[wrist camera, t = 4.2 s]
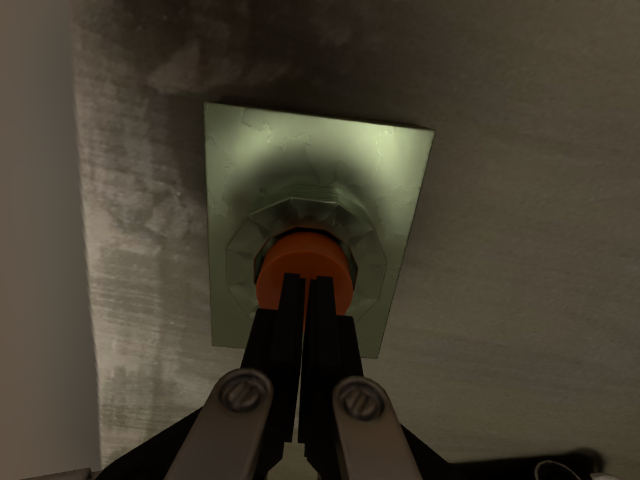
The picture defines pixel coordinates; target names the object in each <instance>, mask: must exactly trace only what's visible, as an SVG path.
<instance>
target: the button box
mask: <svg viewBox="0 0 640 480" xmlns="http://www.w3.org/2000/svg"><path fill="white" fill-rule="evenodd" d="M203 120H204V147H205V174H206V200H207V227H208V254H209V280H210V307H211V334H212V346H218V347H231V348H244V349H246V346H247V342H248V339H249V335H250V332H251V328H252V324H253V321H254V317H255V314H256V311H257V309H258V308H260V306H259V303H258V300H257V296H256V283H257V280H258V276H259V273H260V270H261V267H262V264H263V261H264V258H265V255H266V253H267V251H268V250H269V248H270V247H271V246H272V245H273V244H274V243H275V242H276V241H277V240H279V239H280V238H282V237H284V236H286V235H289V234H292V233H296V232H315V233H319V234H322V235H324V236H327V237H329V238H330V239H332V240H333V241H335V242H336V243H337V244H338V245H339V246H340V247H341V248H342V250H343V251H344V253H345V255H346V257H347V260H348V264H349V269H350V274H351V280H352V285H353V298H352V301H351V304H350V306H349V308H348V310H347V312H346V313H345V314H344V316H352V317H353V319H354V323H355V329H356V335H357V341H358V347H359V352H360V358H373V359H377V358H378V355H379V351H380V347H381V343H382V339H383V335H384V331H385V327H386V323H387V320H388V316H389V312H390V308H391V304H392V300H393V296H394V292H395V288H396V284H397V280H398V277H399V273H400V269H401V265H402V261H403V257H404V253H405V249H406V245H407V241H408V237H409V234H410V230H411V226H412V222H413V218H414V214H415V210H416V206H417V202H418V198H419V195H420V191H421V187H422V183H423V179H424V175H425V171H426V167H427V163H428V159H429V155H430V152H431V148H432V144H433V140H434V136H435V130H434V129H430V128H427V127H423V126H419V125H412V124H404V123H396V122H388V121H380V120H372V119H364V118H356V117H348V116H340V115H331V114H323V113H315V112H307V111H299V110H291V109H283V108H275V107H267V106H259V105H251V104H243V103H235V102H227V101H204V102H203ZM303 339H304V332H303ZM302 350H303V340H302Z"/></svg>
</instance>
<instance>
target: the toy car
mask: <svg viewBox="0 0 640 480" xmlns="http://www.w3.org/2000/svg"><path fill="white" fill-rule="evenodd" d="M590 476H591V478H592V479H588V480H622V479H620V478H617V477H615V476H613V475H610V474H606V473H602V472H601V473H591V474H590ZM548 477H552V478H553V479H552V480H581V479H580V478H579V477H578V476H577V475H576V474H575V473H574V472H573V471H572V470H571V469H569V468H568V467H567V466H565V465H563V464H560V463H558V462H555V461H552V460H541V461H540V462H538V463H536V464H535V465H534V466H533V468H532V470H531V480H550V479H548Z"/></svg>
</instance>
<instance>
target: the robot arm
mask: <svg viewBox="0 0 640 480" xmlns="http://www.w3.org/2000/svg"><path fill="white" fill-rule="evenodd" d="M305 286H306V279H305V278H300V274H296V273H284V279H283V284H282V290H281V295H280V301H279V306H278V310H274V309H263V308H258V309H257V311H256V314H255V317H254V321H253V324H252V328H251V332H250V335H249V339H248V342H247V346H246V349H245V353H244V356H243V360H242V363H241V367H240V368H239V369H235V370H232V371H230V372H228V373H226V374H225V375H224V376H222V377H221V378H220V379H219V380H218V382H217V383H216V384H215V386H214V388H213V389H212V391H211V393H210V395H209V397H208V399H207V400H206V402H205V404H204V406H203V407H201V408H200V409H198V410H196V411H195V412H193V413H191V414H190V415H188V416H187V417H185V418H183V419H182V420H180V421H178V422H177V423H175V424H174V425H172V426H170V427H169V428H167V429H165V430H164V431H162V432H161V433H159V434H157V435H156V436H154V437H152V438H151V439H149V440H148V441H146V442H144V443H143V444H141V445H139V446H138V447H136V448H135V449H133V450H131V451H130V452H128V453H126V454H125V455H123V456H122V457H120V458H118V459H117V460H115V461H114V462H113V463H111V464H110V465H109V466H107V467H106V468H105V469H104V470H102V471H96V472H91V469H90V468H84V469H78V470H73V471H67V472H62V473H56V474H50V475H44V476H39V477H33V478H27V479H21V480H267V475H268V471H269V470H270V469H271V468H272V467H274V466H275V465H276V464H277V463H278V462H279V461H280V460H281V459H282V457H283V448H284V442H290V443H292V435H293V427H294V419H295V410H296V402H297V394H298V385H299V377H300V369H301V357H302V369H301V388H300V407H299V426H298V443H305V453H304V457H307V461H308V462H309V463H310V464H311V465H312V466H313V468H314V469H315V470H316V471H317V472H318V478H317V480H468V479H467V478H466V477H465V476H463V475H462V474H461V473H460V472H458V471H457V470H456V469H455V468H454V467H452V466H451V465H450V464H449V463H448V462H446V461H445V460H444V459H443V458H442V457H440V456H439V455H438V454H437V453H435V452H434V451H433V450H432V449H431V448H429V447H428V446H427V445H426V444H425V443H423V442H422V441H421V440H420V439H418V438H417V437H416V436H415V435H414V434H412V433H411V432H410V431H409V430H408V429H406V428H405V427H404V426H403V425H402V424H400V423H399V420H398V418H397V415H396V413H395V411H394V408H393V406H392V403H391V401H390V398H389V396H388V395H387V393H386V391H385V390H384V389H383V388H382V387H381V386H380V385H379V384H378V383H376V382H375V381H373V380H371V379H369V378H366V377H364V375H363V370H362V364H361V358H360V352H359V347H358V341H357V335H356V329H355V323H354V319H353V317H352V316H344V315H336V305H335V295H334V284H333V277H328V276H317V279H311V280H310V288H309V297H308V305H307V313H306V322H305V330H304V339H303V322H304V304H305ZM302 340H303V350H302Z"/></svg>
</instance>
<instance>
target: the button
mask: <svg viewBox="0 0 640 480" xmlns="http://www.w3.org/2000/svg"><path fill="white" fill-rule="evenodd" d="M284 273H296V274H300V278H305V279H306V286H305V304H304V322H303V332H304V330H305V322H306V313H307V305H308V297H309V288H310V280H311V279H317V276H328V277H333V284H334V295H335V305H336V315H344V314H345V313H346V312H347V310H348V308H349V306H350V304H351V301H352V298H353V285H352V280H351V274H350V269H349V264H348V260H347V257H346V255H345V253H344V251H343V250H342V248H341V247H340V246H339V245H338V244H337V243H336V242H335V241H333V240H332V239H330V238H329V237H327V236H324V235H322V234H319V233H315V232H296V233H292V234H289V235H286V236H284V237H282V238H280V239H279V240H277V241H276V242H275V243H274V244H273V245H272V246H271V247H270V248H269V250H268V251H267V253H266V255H265V258H264V261H263V264H262V267H261V270H260V273H259V276H258V280H257V283H256V296H257V300H258V303H259V306H260V308H263V309H274V310H278V306H279V301H280V295H281V290H282V284H283V279H284Z"/></svg>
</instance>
